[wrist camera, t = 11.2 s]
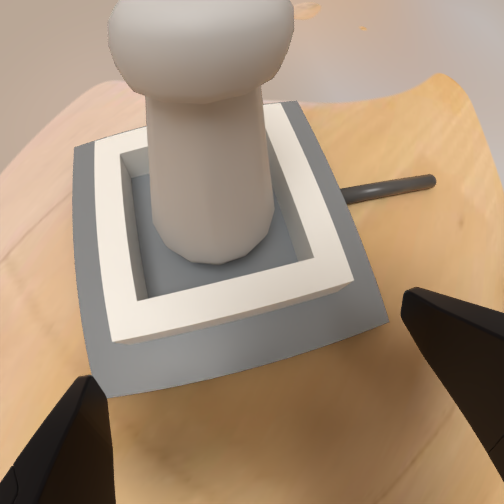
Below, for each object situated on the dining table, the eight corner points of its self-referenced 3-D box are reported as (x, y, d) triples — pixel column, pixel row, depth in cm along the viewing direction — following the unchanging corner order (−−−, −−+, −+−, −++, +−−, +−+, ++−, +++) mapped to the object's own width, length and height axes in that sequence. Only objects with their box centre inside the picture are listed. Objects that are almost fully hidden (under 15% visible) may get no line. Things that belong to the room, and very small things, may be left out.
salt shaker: (216, 162, 18) (214, -56, 6) (289, 224, 17) (381, 0, 5) (140, 226, 16) (34, 14, 4) (213, 300, 15) (167, 91, 3)
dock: (385, 105, 23) (400, 77, 19) (472, 282, 18) (505, 268, 15) (79, 155, 19) (61, 124, 16) (104, 397, 14) (76, 404, 11)
